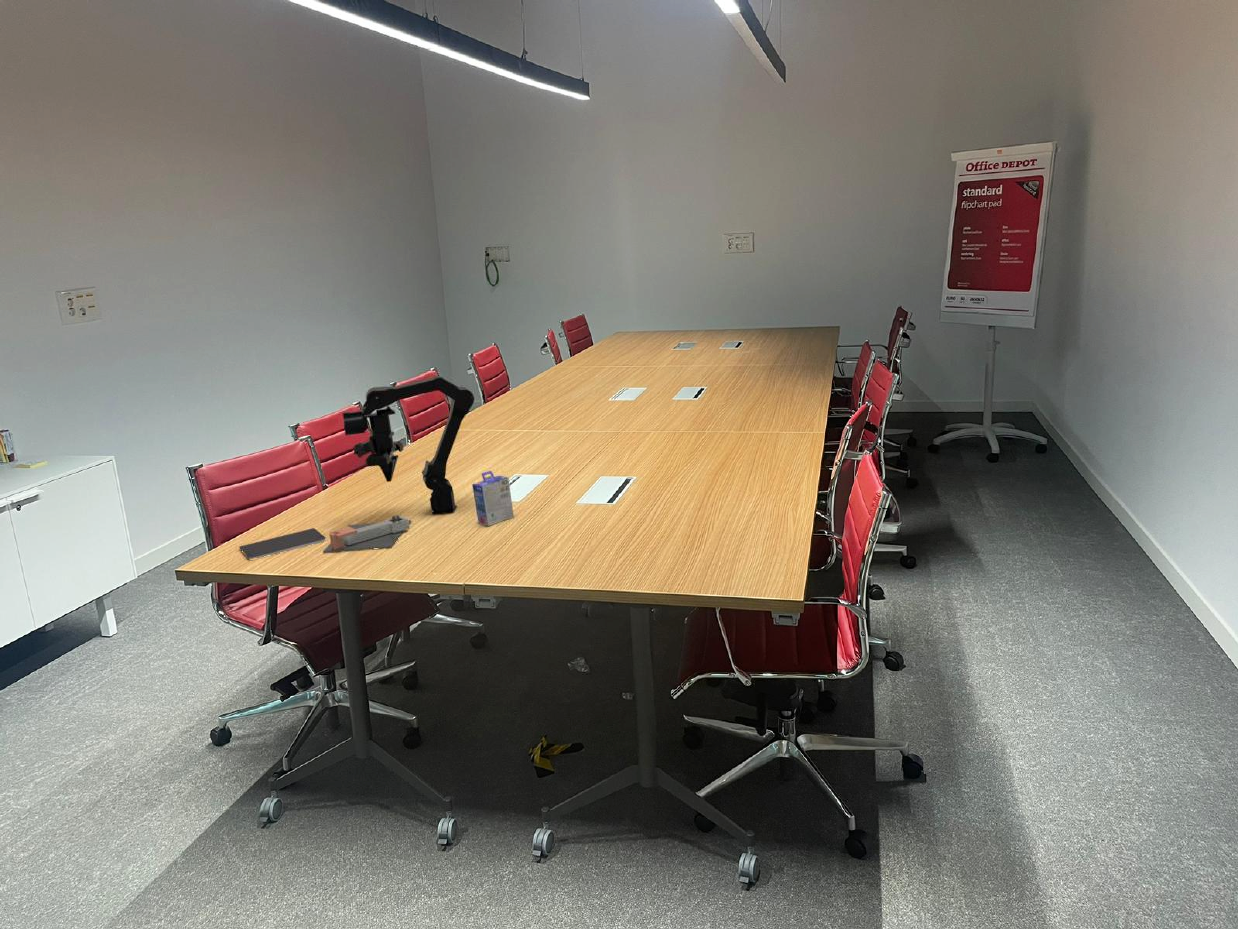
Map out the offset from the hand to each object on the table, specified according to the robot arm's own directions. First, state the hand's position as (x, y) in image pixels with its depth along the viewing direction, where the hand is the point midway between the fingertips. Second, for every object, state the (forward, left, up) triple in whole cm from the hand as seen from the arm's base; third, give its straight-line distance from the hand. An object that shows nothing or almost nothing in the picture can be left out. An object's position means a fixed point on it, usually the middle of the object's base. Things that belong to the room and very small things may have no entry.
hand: (389, 481), depth 270 cm
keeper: (+8, +23, -12) cm, 27 cm away
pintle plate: (+3, +15, -12) cm, 20 cm away
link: (+1, +16, -11) cm, 20 cm away
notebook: (+28, +17, -13) cm, 35 cm away
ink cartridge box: (-32, +8, -12) cm, 35 cm away
